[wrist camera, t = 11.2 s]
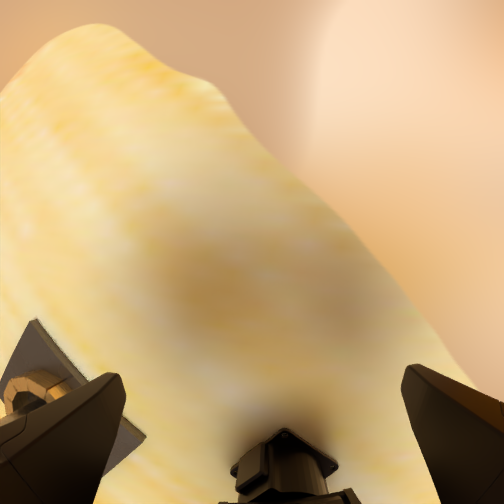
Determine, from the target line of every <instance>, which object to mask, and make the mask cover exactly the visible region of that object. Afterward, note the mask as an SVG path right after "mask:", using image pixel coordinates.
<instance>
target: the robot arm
mask: <svg viewBox="0 0 504 504" xmlns="http://www.w3.org/2000/svg"><path fill="white" fill-rule="evenodd" d="M401 393H402V396H403V400H404V403H405V406H406V410H407V413H408V417H409V420H410V423H411V427H412V430H413V432H414V435H415V437H416V439H417V442H418V444H419V447H420V449H421V452H422V454H423V457H424V459H425V462H426V464H427V467H428V469H429V472H430V475H431V477H432V480H433V483H434V485H435V488H436V491H437V494H438V496H439V499H440V502H441V504H504V403H503V402H501V401H500V402H499V400H497V399H494V398H492V397H490V396H488V395H485V394H483V393H481V392H479V391H477V390H474V389H472V388H470V387H468V386H466V385H464V384H461V383H459V382H457V381H455V380H453V379H451V378H448V377H446V376H444V375H442V374H440V373H438V372H436V371H434V370H431V369H429V368H427V367H425V366H423V365H421V364H412V365H408V366H407V367H406V369H405V373H404V376H403V380H402V384H401ZM125 402H126V392H125V389H124V386H123V383H122V379H121V377H120V375H119V374H118V373H111V372H107V373H105V374H103V375H101V376H99V377H97V378H95V379H94V380H92V381H90V382H88V383H86V384H84V385H82V386H80V387H79V388H77V389H75V390H73V391H71V392H69V393H67V394H65V395H63V396H61V397H59V398H58V399H56V400H54V401H52V402H50V403H48V404H46V405H44V406H42V407H40V408H38V409H36V410H34V411H32V412H30V413H28V415H24V416H22V417H20V418H18V419H16V420H14V421H12V422H9V423H7V424H5V425H2V426H0V504H93V502H94V499H95V496H96V493H97V490H98V487H99V484H100V481H101V478H102V475H103V473H104V470H105V467H106V464H107V461H108V459H109V456H110V453H111V451H112V448H113V445H114V443H115V440H116V437H117V433H118V429H119V425H120V421H121V417H122V413H123V409H124V405H125ZM283 433H286V434H287V435H286V436H283V435H282V434H283ZM333 465H334V467H331V466H333ZM338 467H339V466H338V463H337V462H336V461H335V460H333V459H332V458H330V457H329V456H327V455H326V454H324V453H323V452H321V451H320V450H318V449H317V448H315V447H314V446H312V445H311V444H309V443H308V442H306V441H305V440H303V439H302V438H301V437H299V436H298V435H296V434H295V433H294V432H292V431H291V430H289V429H287V428H282V429H280V430H279V431H278V432H277V433H275V434H274V435H273V436H272V437H271V438H269V439H268V440H267V441H266V442H262V443H259V444H258V445H257V446H256V447H254V448H253V449H252V450H251V451H249V452H248V453H247V454H246V455H244V456H243V457H242V458H240V461H239V463H237V464H236V465H235V466H233V467H232V468H231V472H230V474H231V475H232V476H233V477H235V478H236V479H237V480H236V486H235V490H236V492H238V493H239V498H238V503H228V502H219V503H218V504H361V502H360V501H359V499H358V498H357V496H356V495H355V493H354V491H353V490H352V488H348V489H343V491H340V492H335V493H330V494H329V492H328V488H327V484H326V480H325V479H326V478H327V477H328V476H330V475H331V474H332V473H333V472H335V471H336V470H337V469H338ZM234 471H238V472H234Z"/></svg>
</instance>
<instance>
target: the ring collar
mask: <svg viewBox="0 0 504 504" xmlns="http://www.w3.org/2000/svg"><path fill="white" fill-rule="evenodd" d="M86 383H88V381H87V380H86V379H85V378H84V377H83V376H82V375H81V373H80V372H79V371H78V370H77V369H76V368H75V367H74V366H73V364H72V363H71V362H70V361H69V360H68V359H67V357H66V356H65V355H64V354H63V353H62V351H61V350H60V349H59V348H58V347H57V345H56V344H55V343H54V342H53V340H52V339H51V338H50V336H49V335H48V334H47V333H46V331H45V330H44V329H43V327H42V326H41V325H40V323H39V322H38V321H37V319H36V320H32V321H29V323H28V325H27V327H26V329H25V331H24V332H23V334H22V336H21V338H20V340H19V342H18V344H17V346H16V348H15V350H14V352H13V354H12V356H11V358H10V360H9V363H8V365H7V367H6V369H5V371H4V374H3V376H2V378H1V380H0V399H1V400H2V401H3V403H4V404H5V410H6V414H7V415H9V414H11V413H12V412H14V411H16V410H18V409H20V408H22V407H24V406H26V405H28V404H29V403H31V402H33V401H35V400H37V399H39V398H42V399H44V400H45V401H46V402H47V403H50V402H52V401H54V400H56V399H58V398H59V397H61V396H63V395H65V394H67V393H69V392H71V391H73V390H75V389H77V388H79V387H80V386H82V385H84V384H86ZM145 438H146V436H145V435H143V434H142V433H141V432H140V431H139V430H138V429H136V428H135V427H134V426H133V425H132V424H131V423H130V422H129V421H127V420H126V419H125V418H124V417H123V416H122V417H121V421H120V425H119V429H118V433H117V437H116V440H115V443H114V445H113V448H112V451H111V453H110V456H109V459H108V461H107V464H106V467H105V470H104V473H103V475H102V477H103V476H104V475H106V474H107V473H108V472H109V471H110V470H111V469H113V468H114V467H115V466H116V465H117V464H119V463H120V462H121V461H122V460H123V459H124V458H125V457H127V456H128V455H129V454H130V453H131V452H132V451H133V450H135V449H136V448H137V447H138V446H139V445H140V444H141V443H142V442H143V441H144V440H145Z"/></svg>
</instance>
